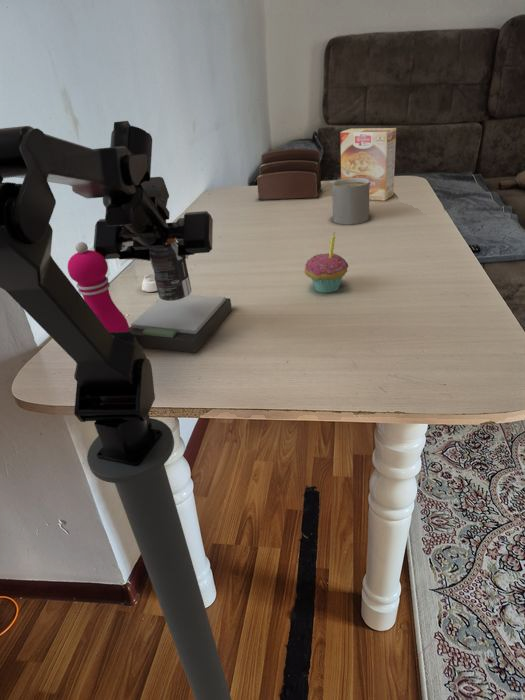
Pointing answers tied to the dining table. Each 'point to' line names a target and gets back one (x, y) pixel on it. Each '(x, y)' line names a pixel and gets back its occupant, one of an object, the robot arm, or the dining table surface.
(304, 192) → the letter holder
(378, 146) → the coffeecake box
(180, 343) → the scale
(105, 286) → the pepper mill
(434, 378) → the dining table surface
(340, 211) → the coffee mug
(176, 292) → the pill bottle
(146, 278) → the white jar
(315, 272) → the cupcake
